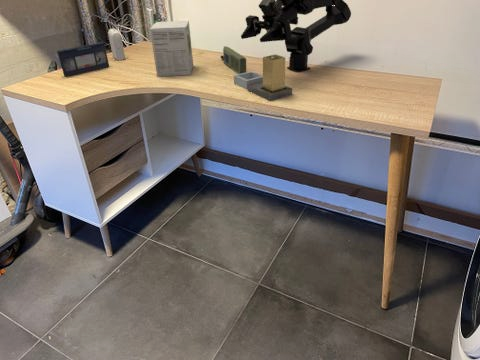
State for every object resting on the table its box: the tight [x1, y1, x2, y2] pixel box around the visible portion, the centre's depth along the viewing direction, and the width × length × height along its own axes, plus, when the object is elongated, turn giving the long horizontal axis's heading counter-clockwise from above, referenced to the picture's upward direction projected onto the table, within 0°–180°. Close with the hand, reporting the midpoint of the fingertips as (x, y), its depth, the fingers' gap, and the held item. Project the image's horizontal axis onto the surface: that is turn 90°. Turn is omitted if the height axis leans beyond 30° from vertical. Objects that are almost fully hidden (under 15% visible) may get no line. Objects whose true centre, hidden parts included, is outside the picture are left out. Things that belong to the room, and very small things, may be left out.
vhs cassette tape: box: [56, 41, 110, 78], centre depth 151 cm, size 18×3×10 cm, turn 129°
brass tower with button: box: [262, 53, 286, 93], centre depth 120 cm, size 5×5×12 cm
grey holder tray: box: [247, 82, 293, 102], centre depth 124 cm, size 12×9×2 cm
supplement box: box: [149, 20, 194, 77], centre depth 145 cm, size 13×13×18 cm
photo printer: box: [107, 28, 126, 61], centre depth 167 cm, size 10×4×12 cm, turn 28°
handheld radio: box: [220, 45, 247, 74], centre depth 150 cm, size 7×3×25 cm
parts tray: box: [233, 70, 263, 90], centre depth 132 cm, size 8×8×3 cm
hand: (250, 39), depth 124 cm, fingers open, 9 cm apart
